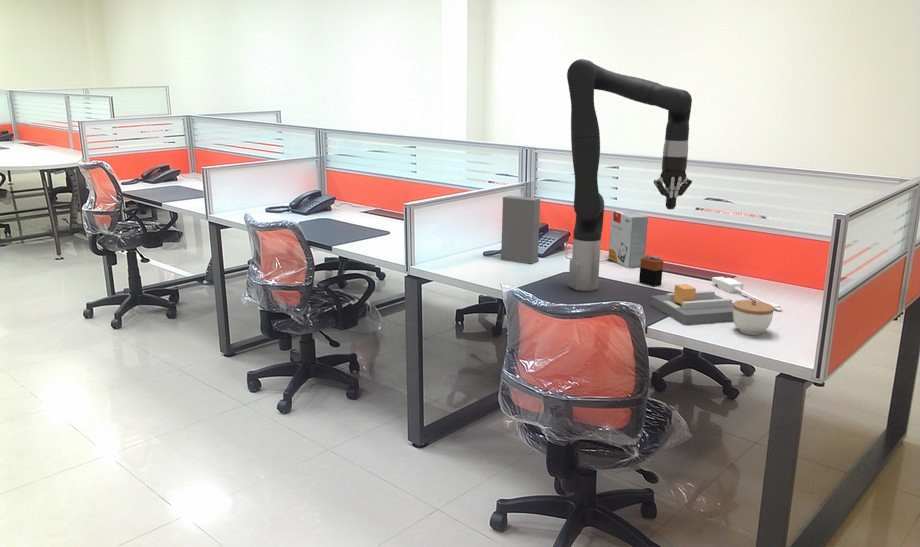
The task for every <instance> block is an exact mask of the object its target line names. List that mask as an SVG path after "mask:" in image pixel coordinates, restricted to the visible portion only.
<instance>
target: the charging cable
mask: <svg viewBox="0 0 920 547" xmlns="http://www.w3.org/2000/svg"><path fill="white" fill-rule="evenodd" d="M711 283H713V284H715V285H717V288H718V289H721V290H723V291H724V292H726V293H729V294H736V293H737V294H739V293H742V294H744V295H745V296H748V297H751V298H752V299H755V300H756V301H760V302H764V303H767V304H770V305H772V306H773V307H774V311H778V312H780V311H783V310H784V309H783V308H781V305H779V304H777V303H775V302H767V301H765V300H763V299H761V298H759V297H756V296H755V295H754V294H751V293H749V292H747V291H745V290H744V283H742V282H740V281H738V280H736V279H734V278H731V277H724V276H712V278H711Z"/></svg>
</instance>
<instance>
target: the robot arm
mask: <svg viewBox="0 0 920 547" xmlns="http://www.w3.org/2000/svg"><path fill="white" fill-rule="evenodd" d="M566 79H567V84H568V90H569V98H570V106H571V107H570V110H571V112H570V137H571V138H570V141H571V142H570V143H571V144H570V146H571V155H572V167H573V172H574V173H573V174H574V196H573V197H574V198H573V199H574V200H573V209H574V213H575V223H574V230H573V240H572V258H570V259H569V270H568V286H569V287H570V288H571V289H572V290H574V291H582V292H591V291H595V290H598V288H599V279H600V278H599V277H600V276H599V275H600V263H601V262H600V260H601V243H602V232H603V226H604V216H605V201H604V197H603V196H602V194H600V191H599V183H598V182H599V181H598V175H599V174H598V173H599V167H600V166H599V165H600V156H601V137H600V136H601V134H600V126H599V120H598V117H597V116H598V115H597V112H596V107H595V90H599V91H603V92H607V93H610V94H615V95H618V96H621V97H623V98H625V99H627V100H630V101H631V100H632V101H634V102H639V103H641V104H645V105H649V106H655V107H658V108H661V109H663V110H666V111H668V112H667V114H668V115H667V123H666V126H665V136H664V144H663V150H662V163H661V173H660V175H659V176H660V177H659V178H657V179H654V180H653V184H654V185H655V187H656V189H657V190H658V192H659V193H660V195H661V196H664V197H665V208H666V209H667V210H674V209H675V208H676V206H677V198H679V196H680V197H681V196H683V195H684V193H685V192H686V191H687V190H688V188H689V187H690V186H691V184H692V183H693V180H691V179H689V178H688V177H687V172H686V171H687V166H688V153H689V138H690V137H689V136H690V118H691V113H692V112H691V110H692V102H693V98H692V95H691V94H690V92H688V91H687V90H685V89H681V88H676V87H671V86H667V85H663V84H660V83H658V82H655V81H651V80H647V79H644V78H640V77H636V76H630V75H625V74H621V73H617V72H615V71H612V70H608V69H606V68H604V67H601V66H599V65H597V64H596V63H594V62H593V61H591V60H588V59H584V58H583V59H582V58H581V59H580V58H579V59H577V60H574V61H573V62H572V63H571V64H570V65H569V67H568V69H567V73H566Z"/></svg>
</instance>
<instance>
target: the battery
mask: <svg viewBox="0 0 920 547" xmlns="http://www.w3.org/2000/svg"><path fill="white" fill-rule="evenodd" d="M663 267H664V259H661V258H660V256H655V255H654V256H651V255H649V254H647V255H646V254H645V257H643V258H641V264H640V267H639V279H638V282H639V283H640V284H643V285H647V286H651V287H657V286H660V285H662V280H663V279H662V278H663Z"/></svg>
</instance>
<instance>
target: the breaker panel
mask: <svg viewBox="0 0 920 547" xmlns="http://www.w3.org/2000/svg"><path fill="white" fill-rule="evenodd" d="M733 303H734V302H733V299H731V298H724V297H721V296H719V295H717V294H716V292H715V291H714V290H699V291H696V292H695V301H686V302H682V305H681V304H679V303H677V302H676V301H674V292H670V293H669V292H667V293H666V294H662V295H661V294H660V295H659V294H658V295H651V296H650V306H651V305H652V306H651V307H653V306H654V307H653V308H655V309H656V310H658V309H659V311H660V312H661V313H663V312H664V313H663V314H665V313H666V314H665V315H667V316H669V317H670V318H672V319H673V320H675V321H677V322H679V323H681V324H682V325H684V326H688V325H699V324H701V325H702V324H713V323H728V322H734V320H733Z"/></svg>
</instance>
